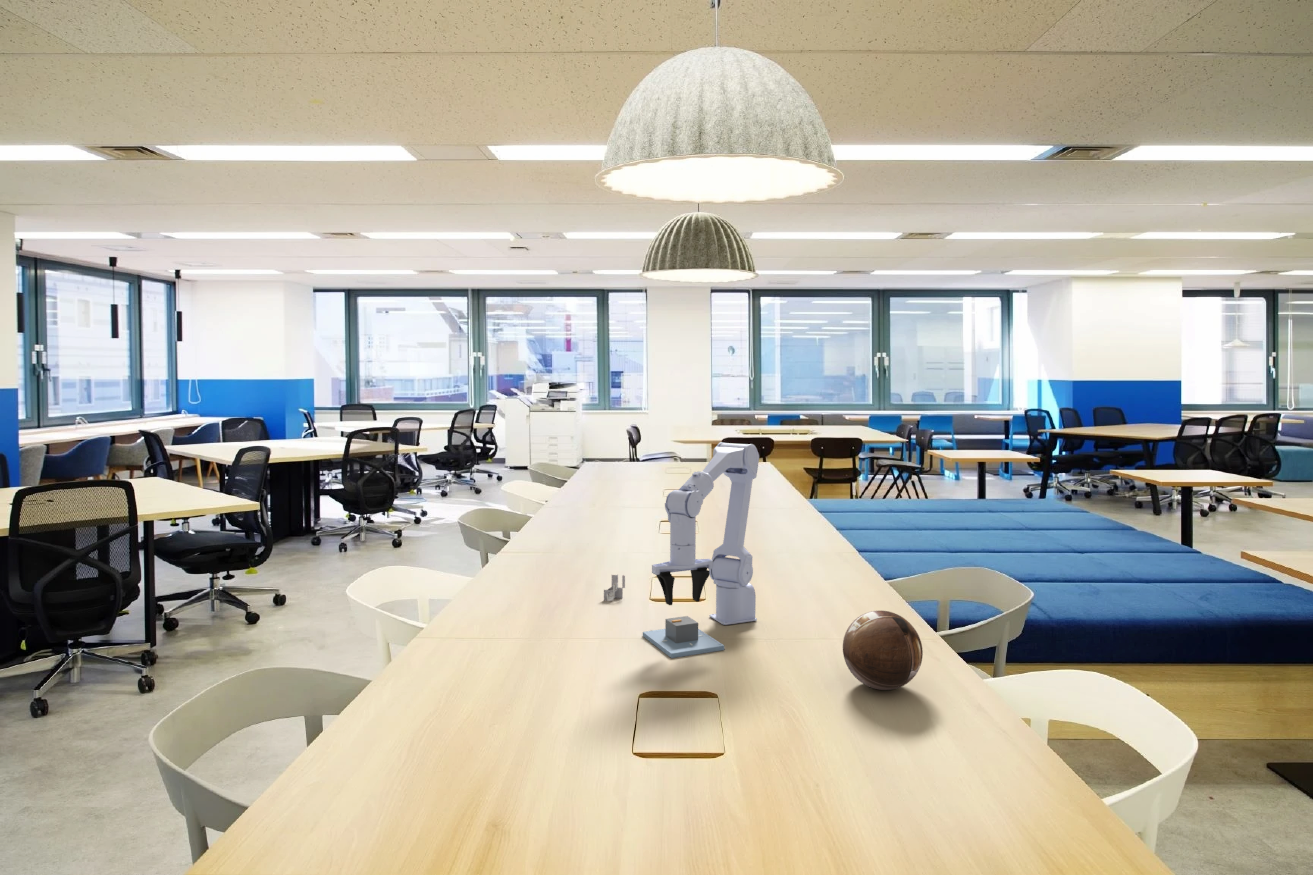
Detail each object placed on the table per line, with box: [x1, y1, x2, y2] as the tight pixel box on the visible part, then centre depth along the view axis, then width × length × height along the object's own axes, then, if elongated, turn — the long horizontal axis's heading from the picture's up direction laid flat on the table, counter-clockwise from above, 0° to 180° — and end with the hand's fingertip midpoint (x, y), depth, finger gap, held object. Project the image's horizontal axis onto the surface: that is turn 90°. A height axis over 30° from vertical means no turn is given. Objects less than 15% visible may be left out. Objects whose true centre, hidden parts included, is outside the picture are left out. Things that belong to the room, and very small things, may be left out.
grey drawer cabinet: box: [664, 615, 699, 643], centre depth 183 cm, size 6×6×4 cm
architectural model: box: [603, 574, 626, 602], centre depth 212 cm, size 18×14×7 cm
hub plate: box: [642, 628, 725, 659], centre depth 183 cm, size 13×16×4 cm
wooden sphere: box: [842, 610, 924, 691], centre depth 157 cm, size 15×15×15 cm
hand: (682, 602), depth 182 cm, fingers open, 6 cm apart
